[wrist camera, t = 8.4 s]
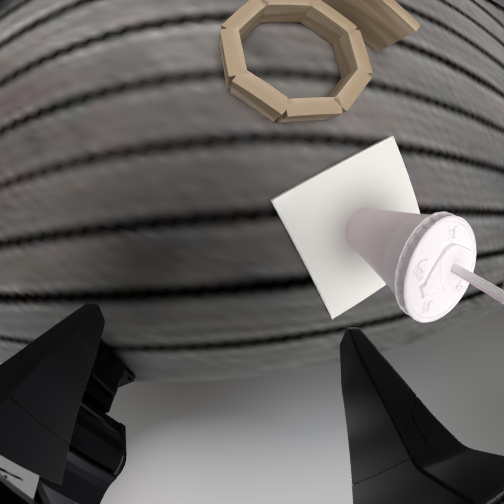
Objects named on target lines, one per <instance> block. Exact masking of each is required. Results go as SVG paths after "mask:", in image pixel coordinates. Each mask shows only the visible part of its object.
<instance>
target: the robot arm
mask: <svg viewBox="0 0 504 504" xmlns="http://www.w3.org/2000/svg"><path fill="white" fill-rule="evenodd" d="M104 323H105V321H104V317H103V315H102V313H101V310H100V308H99V306H98V305H97V304H94V303H87V304H85V305H84V306H82V307H81V308H79V309H78V310H77V311H75V312H74V313H72V314H71V315H69V316H68V317H66V318H65V319H63V320H62V321H61V322H59V323H58V324H56V325H55V326H54V327H52V328H51V329H49V330H48V331H47V332H45V333H44V334H42V335H41V336H40V337H38V338H37V339H35V340H34V341H33V342H31V343H30V344H29V345H27V346H26V347H25V348H23V349H22V350H21V351H19V352H18V353H17V354H15V355H14V356H12V357H11V358H10V359H8V360H7V361H5V362H4V363H2V364H1V365H0V504H100V502H101V500H102V498H103V496H104V494H105V492H106V490H107V489H108V487H109V486H110V484H111V483H112V482H113V481H114V480H115V479H116V478H117V476H118V475H119V474H120V473H121V471H122V470H123V467H124V465H125V462H126V429H125V426H124V425H123V424H122V423H119V422H117V421H115V420H114V419H113V418H111V417H110V416H108V415H107V414H108V412H109V411H110V408H111V405H112V402H113V399H114V396H115V395H116V392H117V389H118V387H121V386H123V385H126V384H128V383H131V382H133V381H134V379H135V376H134V374H133V373H132V372H131V371H130V370H129V369H128V368H127V367H126V366H125V365H124V364H123V363H122V362H121V361H120V360H119V359H118V358H117V357H116V356H115V355H114V354H113V353H112V352H111V351H110V350H109V348H108V347H107V346H106V345H105V344H104V343H103V342H102V341H101V335H102V332H103V328H104ZM340 361H341V384H342V394H343V401H344V407H345V416H346V424H347V432H348V441H349V451H350V462H351V474H352V484H353V485H352V492H353V504H504V456H502V455H496V454H491V453H487V452H483V451H478V450H474V449H471V448H468V447H466V446H465V445H463V444H462V443H461V442H459V441H458V440H457V439H456V438H455V437H454V436H453V435H452V434H451V433H450V432H449V431H448V430H447V429H446V428H445V427H444V426H443V425H442V424H441V423H440V422H439V421H438V420H437V419H436V418H435V417H434V415H433V414H432V413H431V412H430V411H429V410H428V409H427V408H426V406H425V405H424V404H423V403H422V402H421V400H420V399H419V398H418V397H416V394H415V393H414V392H413V391H412V390H411V388H410V387H409V386H408V385H407V384H406V382H405V381H404V380H403V379H402V378H401V376H400V375H399V374H398V373H397V372H396V370H395V369H394V368H393V367H392V366H391V365H390V363H389V362H388V361H387V360H386V359H385V357H384V356H383V355H382V354H381V353H380V352H379V350H378V349H377V348H376V347H375V346H374V345H373V344H372V342H371V341H370V340H369V339H368V338H367V337H366V335H365V334H364V333H363V332H362V331H361V330H360V329H359V328H347V329H346V331H345V334H344V336H343V338H342V341H341V343H340ZM130 377H131V378H130Z"/></svg>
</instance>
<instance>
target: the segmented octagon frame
mask: <svg viewBox="0 0 504 504" xmlns="http://www.w3.org/2000/svg"><path fill="white" fill-rule="evenodd" d="M266 22H300V23H302V24H304V25H305V26H307V27H308V28H309V29H311V30H312V31H314V32H315V33H317V34H318V35H319V36H321V37H322V38H324V39H325V40H326V41H328V42H329V43H330V44H332V45H333V49H334V52H335V56H336V60H337V64H338V68H339V72H340V76H341V80H340V81H339V82H338V84H337V85H336V86H335V87H334V89H333V90H332V91H331V92H330V94H329V95H328V96H327V97H317V98H295V99H289V98H287V97H286V96H284V95H283V94H282V93H280V92H279V91H277V90H276V89H274V88H273V87H272V86H270V85H269V84H267V83H266V82H264V81H263V80H261V79H260V78H258V77H257V76H255V75H254V74H252V73H250V72H249V71H247V69H246V64H245V59H244V54H243V49H242V44H241V42H242V41H243V40H244V39H245V38H246V37H247V36H248V35H249V34H250V33H251V32H252V31H253V30H254V29H255V28H256V27H257V26H258V25H259V24H260V23H266ZM419 26H420V24H419V23H418V22H417V21H416V20H415V19H414V18H413V17H412V16H411V15H410V14H409V13H408V12H406V11H405V10H404V9H403V8H402V7H401V6H400V5H399V4H398V3H396V2H395V1H394V0H249V1H248V2H247V3H246V4H244V5H243V6H242V7H241V8H240V9H239V10H238V11H236V12H235V13H234V14H233V15H232V16H231V17H230V18H229V19H228V20H227V21H226V22H224V23H223V24H222V25H221V29H220V52H221V57H222V63H223V68H224V74H225V80H226V85H227V89H230V93H231V94H232V95H234V96H235V97H237V98H239V99H240V100H242V101H243V102H245V103H246V104H248V105H249V106H251V107H252V108H254V109H255V110H257V111H258V112H259V113H261V114H262V115H264V116H265V117H267V118H268V119H269V120H271V121H272V122H274V121H275V120H276V119H277V121H278V123H287V122H298V121H312V120H327V119H329V118H332V117H335V116H337V115H340V114H343V113H344V112H347V111H348V109H349V108H350V106H351V105H352V104H353V102H354V101H355V100H356V98H357V97H358V96H359V94H360V93H361V91H362V90H363V89H364V87H365V86H366V85H367V83H368V82H369V81H370V79H371V78H372V77H371V76H370V74H372V69H371V65H370V62H369V58H368V55H367V51H366V48H365V44H364V42H365V43H366V44H367V45H368V46H370V47H371V48H372V49H373V50H374V51H375V52H376V53H377V52H379V51H381V50H383V49H384V48H386V47H388V46H390V45H391V44H393V43H395V42H397V41H399V40H401V39H402V38H404V37H406V36H408V35H410V34H412V33H414V32H416V31H417V29H418V28H419Z"/></svg>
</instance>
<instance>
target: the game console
mask: <svg viewBox="0 0 504 504" xmlns="http://www.w3.org/2000/svg"><path fill="white" fill-rule="evenodd" d="M493 1H494V2H496V3H498V4H499V5H501V6H502V7H504V0H493Z"/></svg>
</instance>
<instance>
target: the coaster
mask: <svg viewBox="0 0 504 504" xmlns="http://www.w3.org/2000/svg"><path fill="white" fill-rule="evenodd" d="M270 201H271V203H272V205H273V207H274V209H275V210H276V212H277V214H278V216H279V218H280V219H281V221H282V223H283V225H284V227H285V229H286V231H287V232H288V234H289V236H290V238H291V240H292V242H293V244H294V246H295V247H296V249H297V251H298V253H299V255H300V257H301V259H302V261H303V263H304V265H305V267H306V269H307V271H308V272H309V274H310V276H311V278H312V280H313V282H314V284H315V286H316V288H317V290H318V292H319V294H320V296H321V298H322V300H323V302H324V304H325V306H326V308H327V310H328V312H329V314H330V316H331V318H332V319H333V318H335V317H337V316H338V315H340V314H342V313H343V312H345V311H346V310H348V309H350V308H351V307H353V306H354V305H356V304H357V303H359V302H361V301H362V300H364V299H365V298H367V297H368V296H370V295H371V294H373V293H374V292H376V291H377V290H379V289H380V288H382V287H383V286H385V285H386V283H385V282H384V281H383V280H382V278H381V277H380V276H379V275H378V274H377V273H376V272H375V271H374V270H373V269H372V268H371V266H370V265H369V264H368V263H367V262H366V261H365V260H364V259H363V258H362V257H361V256H360V255H359V254H358V253H357V252H356V251H355V250H354V248H353V247H352V246H351V245H350V243H349V241H348V238H347V227H348V224H349V221H350V220H351V218H352V217H353V215H354V214H355V213H357V212H358V211H360V210H362V209H378V210H388V211H398V212H407V213H416V214H420V211H419V208H418V204H417V201H416V198H415V194H414V191H413V188H412V185H411V182H410V179H409V176H408V173H407V171H406V168H405V165H404V162H403V160H402V157H401V154H400V152H399V149H398V147H397V144H396V142H395V140H394V137H393V136H389V137H387V138H385V139H383V140H381V141H379V142H377V143H375V144H373V145H371V146H369V147H367V148H365V149H363V150H361V151H359V152H357V153H355V154H353V155H351V156H349V157H348V158H346V159H344V160H342V161H340V162H338V163H336V164H334V165H332V166H331V167H329V168H327V169H325V170H323V171H321V172H319V173H317V174H316V175H314V176H312V177H310V178H308V179H306V180H305V181H303V182H301V183H299V184H297V185H296V186H294V187H292V188H290V189H288V190H287V191H285V192H283V193H281V194H279V195H278V196H276V197H274V198H272V199H271V200H270Z"/></svg>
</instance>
